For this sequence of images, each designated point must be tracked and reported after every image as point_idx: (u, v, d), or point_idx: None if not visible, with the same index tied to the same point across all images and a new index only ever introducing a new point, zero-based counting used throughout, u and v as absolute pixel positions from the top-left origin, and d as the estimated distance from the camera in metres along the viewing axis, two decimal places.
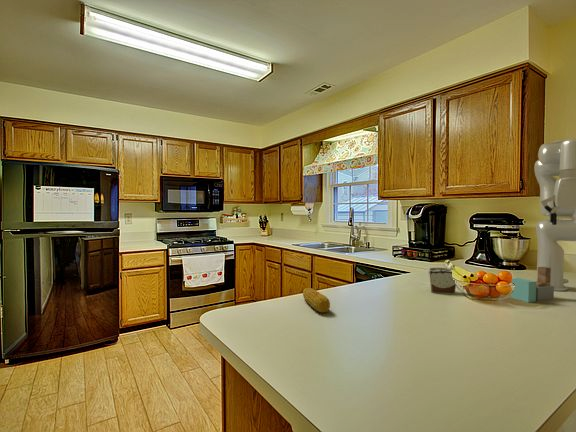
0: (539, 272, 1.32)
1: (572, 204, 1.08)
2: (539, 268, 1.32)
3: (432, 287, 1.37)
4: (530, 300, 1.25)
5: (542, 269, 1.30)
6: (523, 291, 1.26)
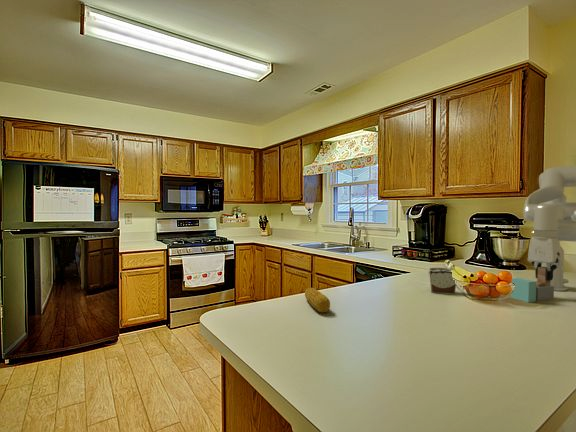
0: (539, 272, 1.32)
1: None
2: (539, 268, 1.32)
3: (432, 287, 1.37)
4: (530, 300, 1.25)
5: (542, 269, 1.30)
6: (523, 291, 1.26)
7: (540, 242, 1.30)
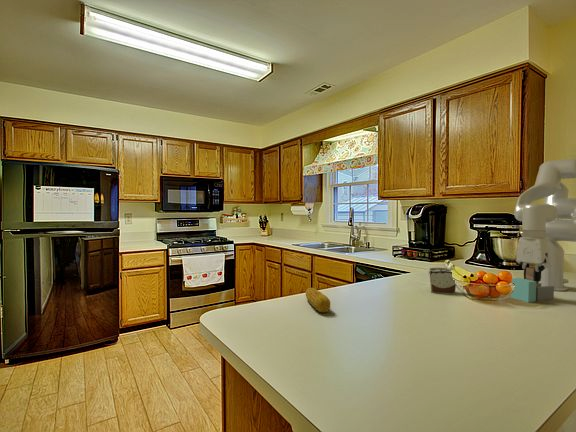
0: (527, 273, 1.30)
1: None
2: (527, 269, 1.30)
3: (432, 287, 1.37)
4: (530, 300, 1.25)
5: (530, 270, 1.28)
6: (523, 291, 1.26)
7: (528, 242, 1.28)
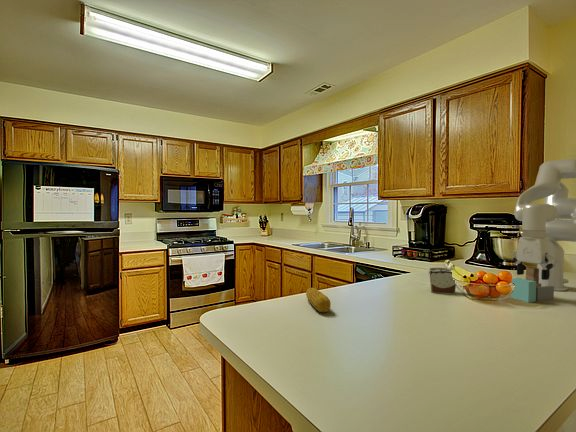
0: (527, 273, 1.30)
1: None
2: (527, 269, 1.30)
3: (432, 287, 1.37)
4: (530, 300, 1.25)
5: (530, 270, 1.28)
6: (523, 291, 1.26)
7: (528, 242, 1.28)
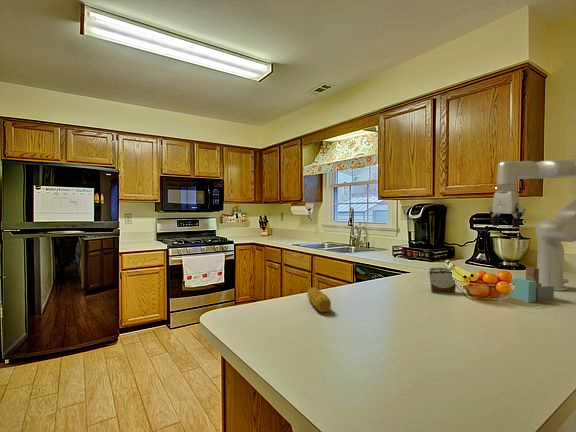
0: (527, 273, 1.30)
1: None
2: (527, 269, 1.30)
3: (432, 287, 1.37)
4: (530, 300, 1.25)
5: (530, 270, 1.28)
6: (523, 291, 1.26)
7: (501, 195, 1.45)
